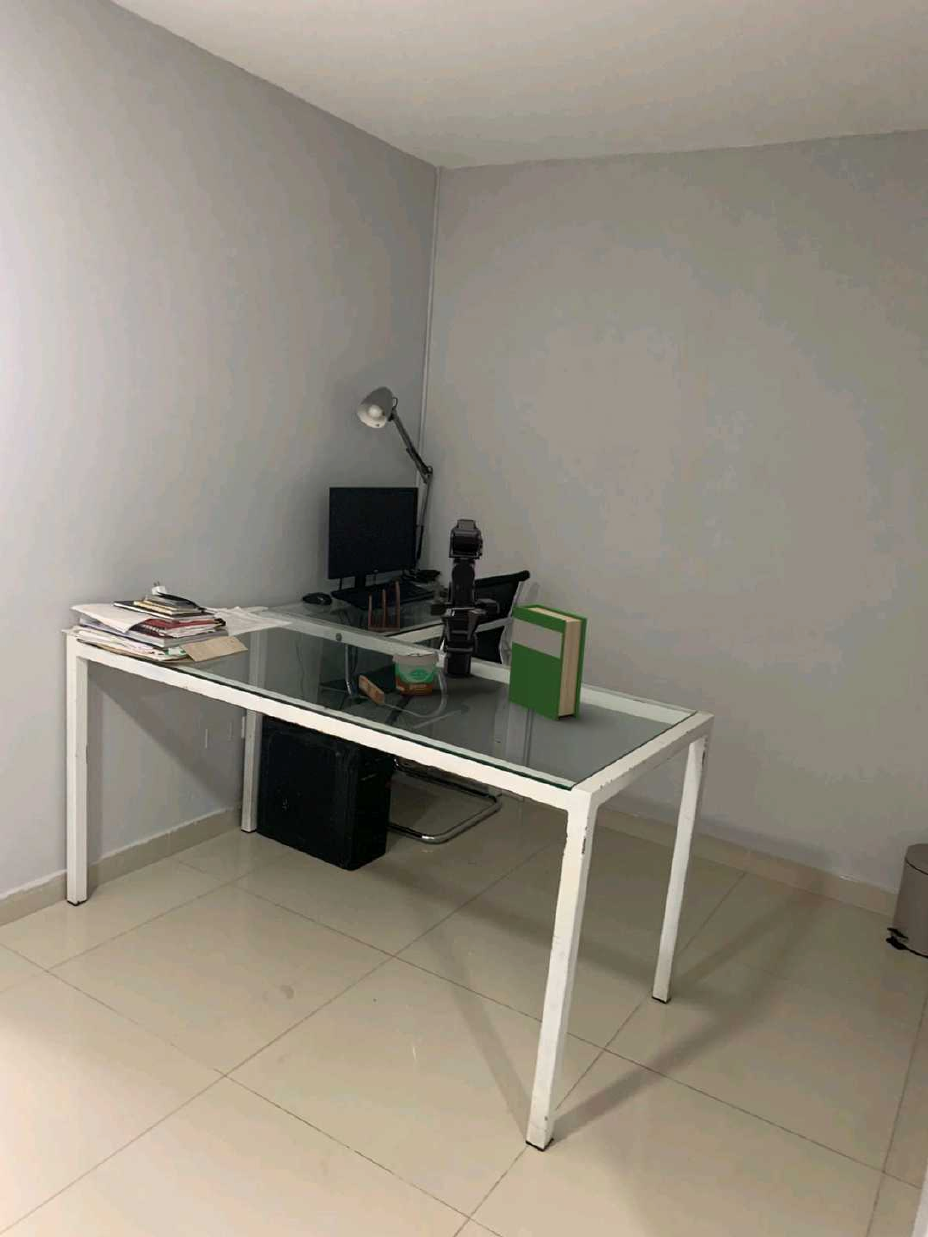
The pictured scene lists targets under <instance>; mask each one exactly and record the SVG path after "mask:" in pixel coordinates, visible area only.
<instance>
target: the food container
mask: <svg viewBox="0 0 928 1237" xmlns="http://www.w3.org/2000/svg"><path fill="white" fill-rule="evenodd" d="M391 661H392V662H393V663H394V668H395V671H394V673H395V685H396V687H395V688H396V692H398V693H400V694H402V695H407V696H425V695H429V694H431V693H433V688H434V681H435V673H436V669H437V664H438V663H439V662H440V656H439V653H438V650H436V649H435V650H434V653H426V654H425V653H416V652H415V653H412V654H406V655H403V654H398V653H397V652H394V655H393V656H392V660H391Z"/></svg>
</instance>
